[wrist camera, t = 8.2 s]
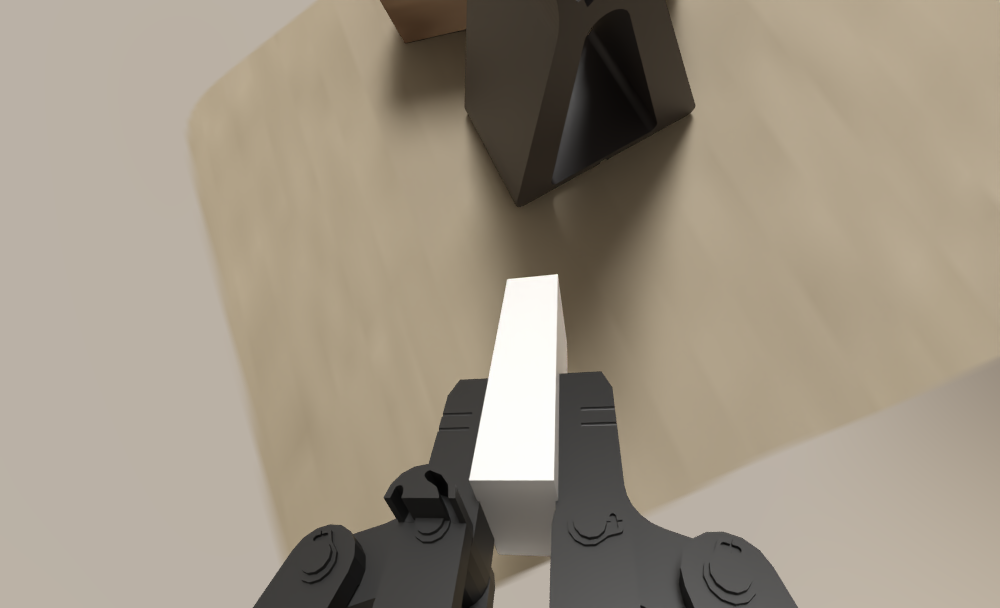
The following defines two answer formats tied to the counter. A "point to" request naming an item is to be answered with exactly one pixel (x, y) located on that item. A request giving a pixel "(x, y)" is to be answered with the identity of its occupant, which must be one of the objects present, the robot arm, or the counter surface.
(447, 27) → the block
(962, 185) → the counter surface
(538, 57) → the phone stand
